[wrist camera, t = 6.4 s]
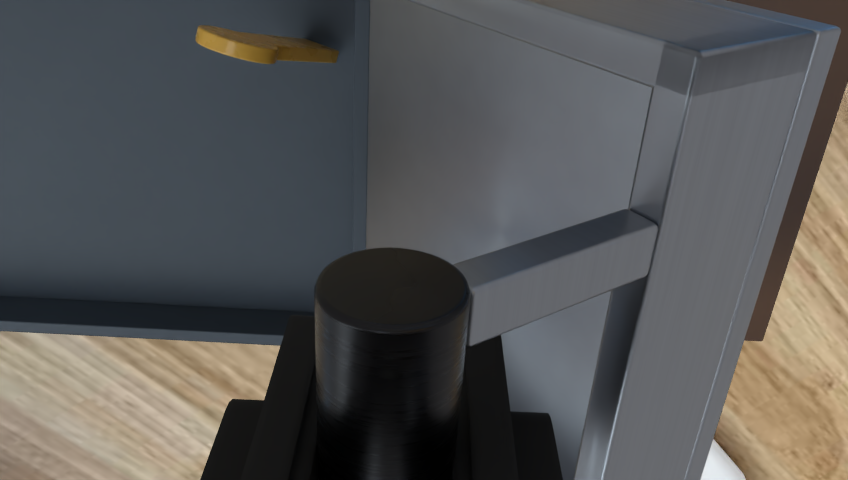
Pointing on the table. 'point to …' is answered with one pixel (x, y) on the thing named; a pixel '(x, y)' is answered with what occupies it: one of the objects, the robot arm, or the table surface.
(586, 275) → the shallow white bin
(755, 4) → the stand
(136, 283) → the tray
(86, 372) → the table surface
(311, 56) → the key
